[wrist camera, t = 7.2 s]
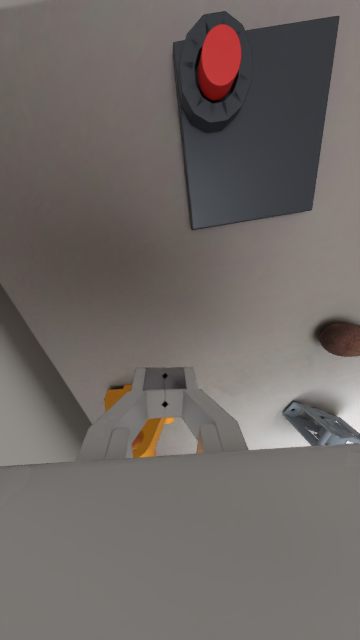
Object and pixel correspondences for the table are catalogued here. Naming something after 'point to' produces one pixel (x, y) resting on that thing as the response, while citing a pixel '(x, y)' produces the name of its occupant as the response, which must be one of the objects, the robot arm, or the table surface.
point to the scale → (255, 121)
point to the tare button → (219, 62)
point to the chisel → (341, 339)
